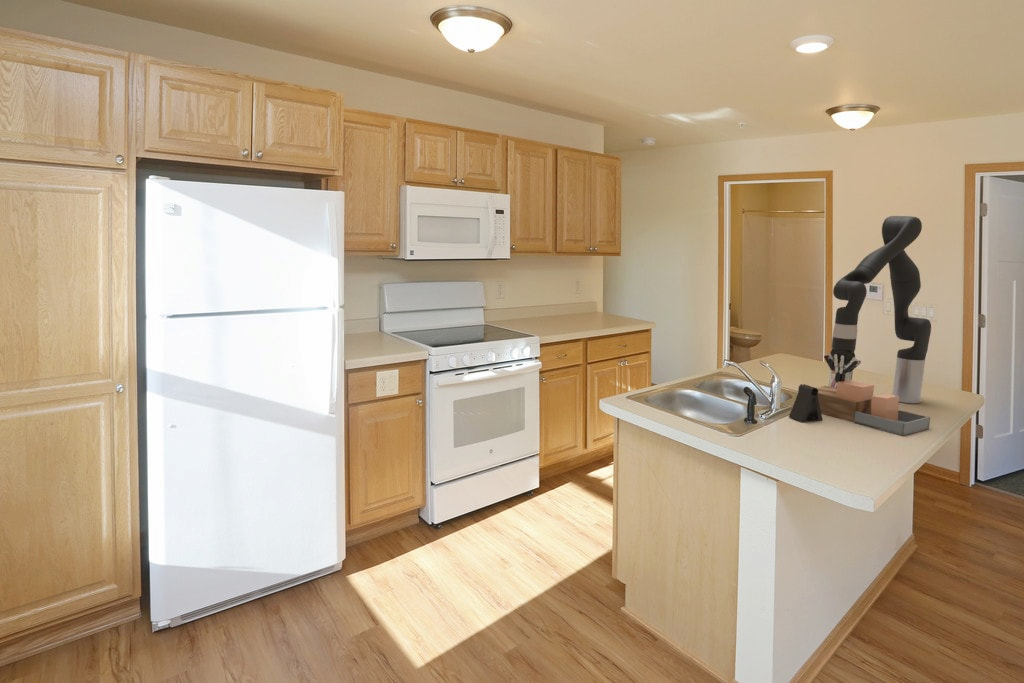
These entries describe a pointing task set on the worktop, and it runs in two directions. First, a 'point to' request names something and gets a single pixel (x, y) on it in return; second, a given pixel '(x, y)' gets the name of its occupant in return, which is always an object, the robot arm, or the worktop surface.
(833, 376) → the candy bar box
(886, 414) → the tile front
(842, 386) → the pink rectangular block
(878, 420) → the tray
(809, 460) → the worktop surface
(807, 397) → the phone stand
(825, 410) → the brown wooden block
